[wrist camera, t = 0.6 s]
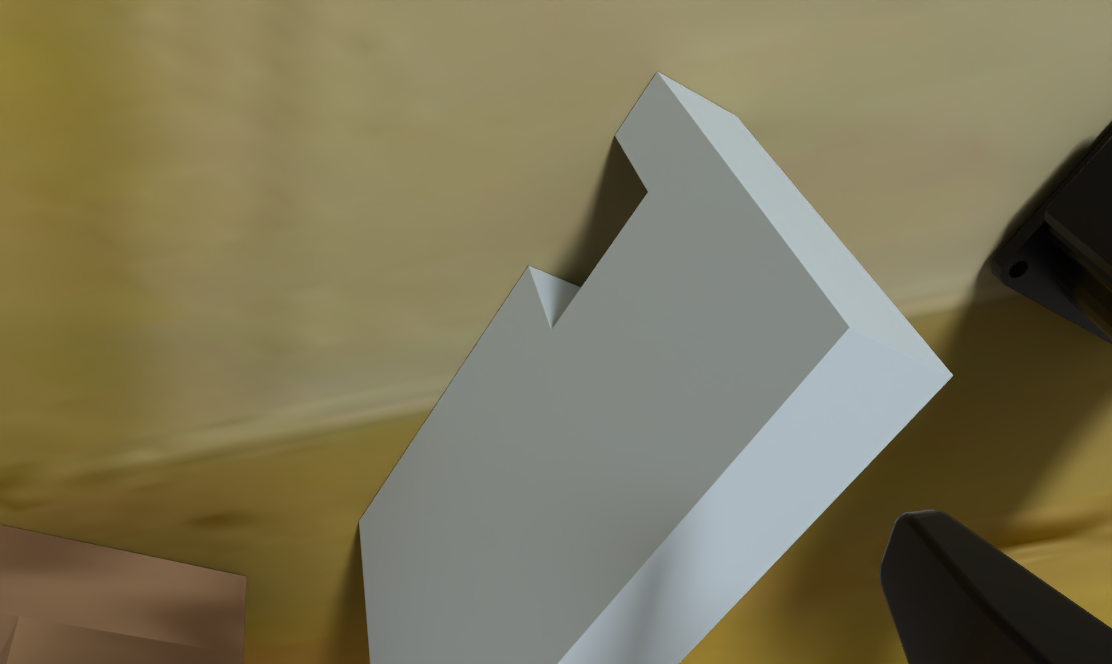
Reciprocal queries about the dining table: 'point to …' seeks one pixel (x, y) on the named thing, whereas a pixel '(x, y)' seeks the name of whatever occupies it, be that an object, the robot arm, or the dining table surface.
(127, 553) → the brown wooden block
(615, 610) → the light blue rectangular panel
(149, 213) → the dining table surface
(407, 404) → the dining table surface
